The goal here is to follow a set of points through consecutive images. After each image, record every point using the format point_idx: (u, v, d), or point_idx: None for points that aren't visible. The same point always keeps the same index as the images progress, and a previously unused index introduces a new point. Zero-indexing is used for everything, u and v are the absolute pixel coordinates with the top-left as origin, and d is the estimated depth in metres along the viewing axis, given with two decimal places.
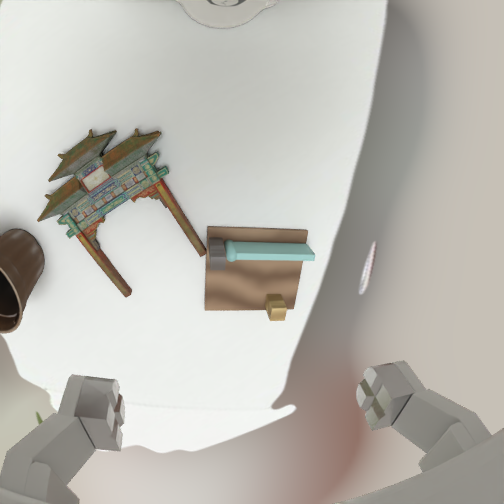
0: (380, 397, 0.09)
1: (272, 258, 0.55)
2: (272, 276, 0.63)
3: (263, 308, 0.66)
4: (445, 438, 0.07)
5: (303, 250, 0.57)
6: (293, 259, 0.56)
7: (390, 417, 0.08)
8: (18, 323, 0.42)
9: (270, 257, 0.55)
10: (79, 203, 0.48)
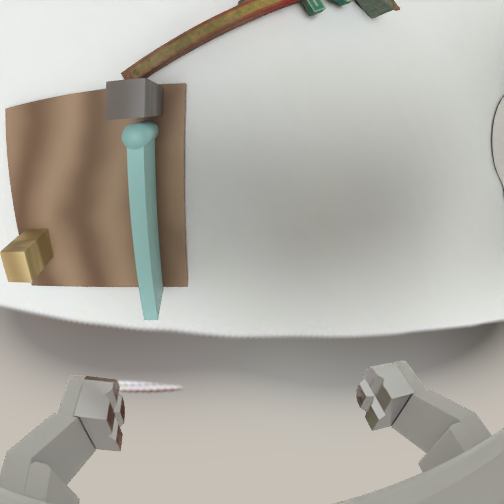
0: (380, 397, 0.09)
1: (136, 233, 0.22)
2: (84, 234, 0.27)
3: (20, 228, 0.25)
4: (445, 438, 0.07)
5: (157, 291, 0.26)
6: (140, 279, 0.24)
7: (390, 417, 0.08)
8: None
9: (138, 229, 0.22)
10: None
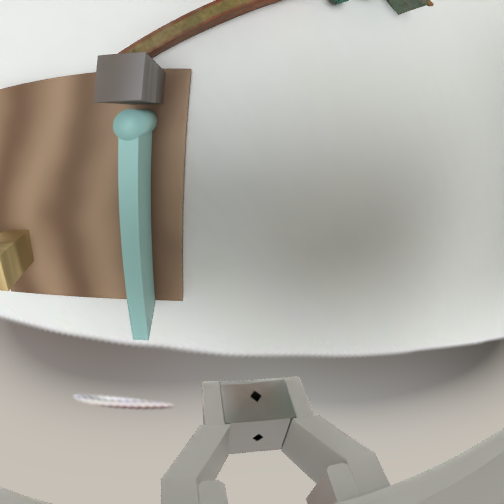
0: None
1: (126, 242, 0.18)
2: (68, 237, 0.23)
3: None
4: (323, 479, 0.06)
5: (149, 307, 0.23)
6: (129, 294, 0.20)
7: (273, 440, 0.08)
8: None
9: (128, 236, 0.18)
10: None
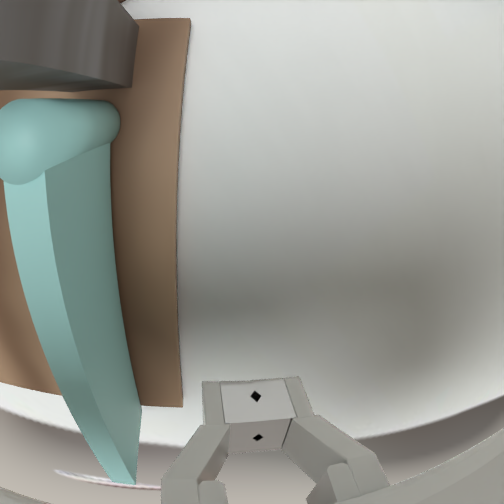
0: None
1: (66, 386, 0.08)
2: (3, 318, 0.12)
3: None
4: (323, 479, 0.06)
5: (131, 441, 0.12)
6: (93, 446, 0.09)
7: (272, 440, 0.08)
8: None
9: (67, 379, 0.08)
10: None
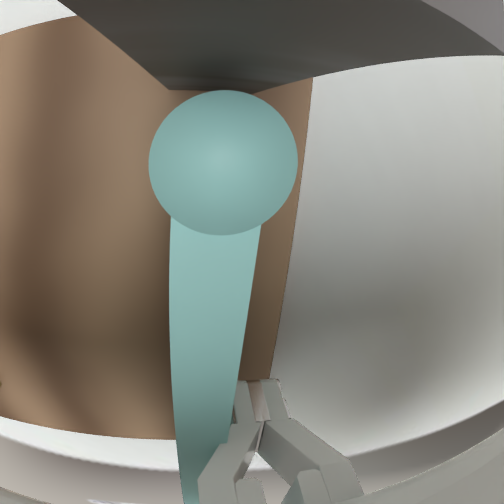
0: None
1: (191, 460, 0.07)
2: (50, 363, 0.11)
3: None
4: (294, 485, 0.06)
5: None
6: (189, 503, 0.08)
7: None
8: None
9: (197, 454, 0.07)
10: None
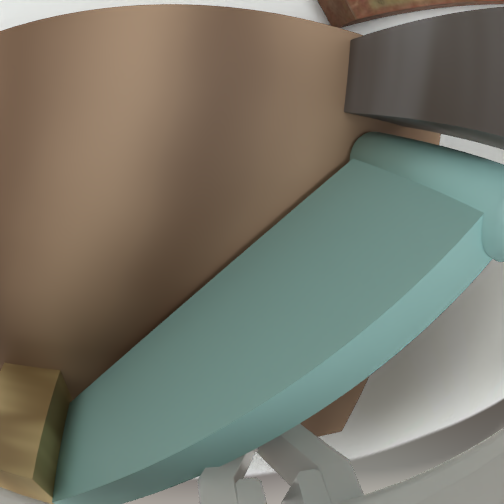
0: None
1: (216, 444, 0.05)
2: None
3: None
4: (294, 485, 0.06)
5: None
6: (109, 487, 0.06)
7: None
8: None
9: (235, 438, 0.05)
10: None
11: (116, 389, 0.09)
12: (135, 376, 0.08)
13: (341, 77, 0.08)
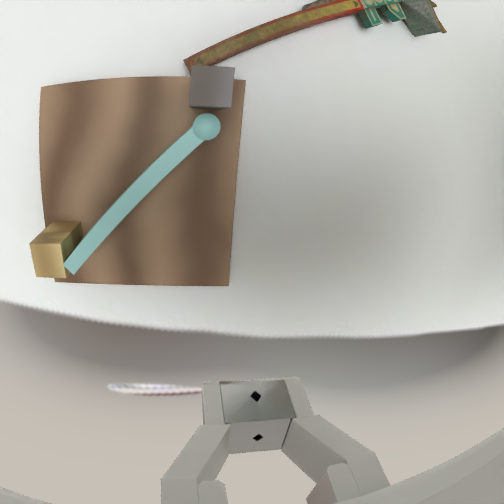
0: None
1: (127, 197, 0.20)
2: (123, 228, 0.26)
3: (47, 218, 0.25)
4: (323, 479, 0.06)
5: None
6: (92, 232, 0.21)
7: (272, 440, 0.08)
8: None
9: (132, 195, 0.20)
10: None
11: (104, 213, 0.24)
12: None
13: None
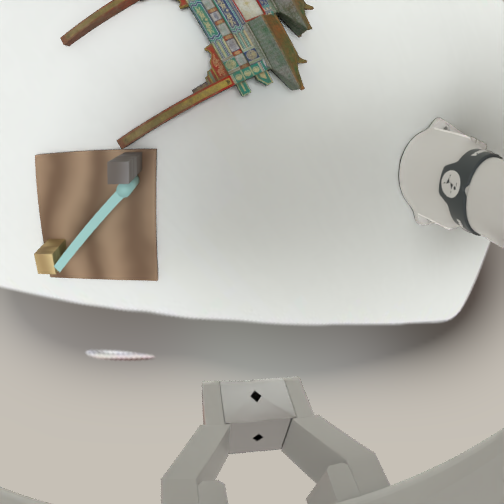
0: None
1: (86, 229, 0.35)
2: (90, 243, 0.41)
3: (45, 237, 0.39)
4: (323, 479, 0.06)
5: None
6: (69, 248, 0.35)
7: (272, 440, 0.08)
8: None
9: (88, 227, 0.35)
10: None
11: None
12: None
13: None
